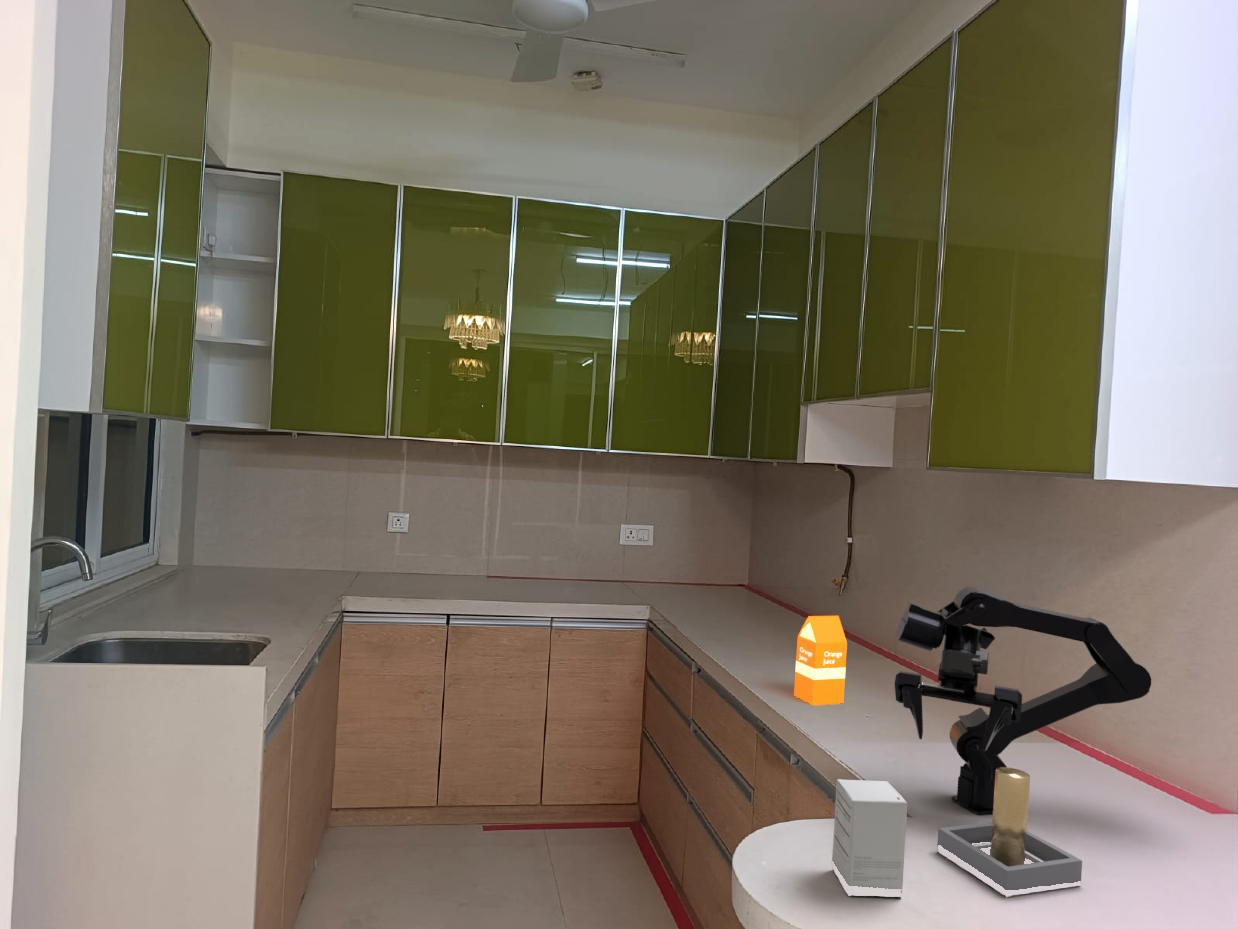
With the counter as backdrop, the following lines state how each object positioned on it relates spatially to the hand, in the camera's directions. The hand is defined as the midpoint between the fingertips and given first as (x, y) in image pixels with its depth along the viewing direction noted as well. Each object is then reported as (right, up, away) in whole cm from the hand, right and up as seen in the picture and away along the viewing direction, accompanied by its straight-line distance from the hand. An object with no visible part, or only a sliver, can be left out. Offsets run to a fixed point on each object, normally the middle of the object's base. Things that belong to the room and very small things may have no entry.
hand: (951, 743), depth 130 cm
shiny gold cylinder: (+3, -13, -11) cm, 18 cm away
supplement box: (-19, -13, -18) cm, 29 cm away
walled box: (+3, -14, -11) cm, 18 cm away
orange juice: (-4, -13, +70) cm, 72 cm away
